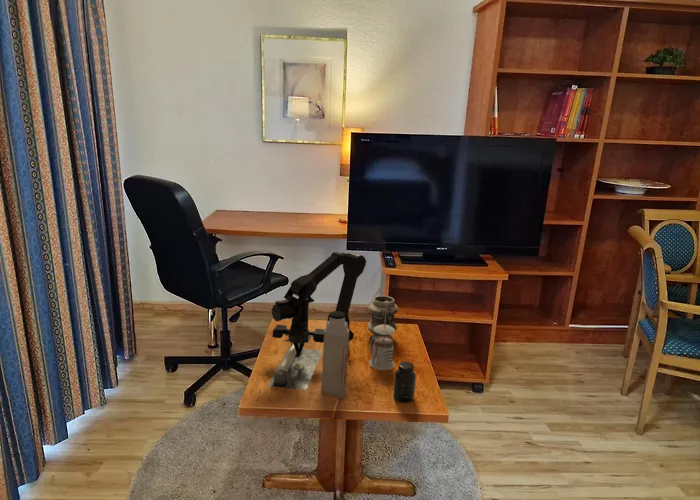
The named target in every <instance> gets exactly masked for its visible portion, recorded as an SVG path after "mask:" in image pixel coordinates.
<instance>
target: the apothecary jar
mask: <svg viewBox="0 0 700 500" xmlns="http://www.w3.org/2000/svg"><path fill="white" fill-rule="evenodd" d="M385 301H388V302H389V305H387V308H386V305H385V304H384V302H385ZM398 308H399V307H398V305H397V304H396V303H395V299H394V298H393V297H391V296H388V295H376V296H375V297H373V301H371V303H369V305H368V309H369V311H370V312H371V315H370V316H371V317H370V321H369V322H368V323H367V329H368V331H369V332H370V333H372V334H371V335H369V340H370V341H371V340H372V338H373V337H374V336H376V337H377V336H387V337H390V338H392V339H393V336H391V335H380V334H377V333H375V332H374V330H373V329H374V327H376V326H378V325H389V326H391V327H393V328H394V329H395V332H396V331H397V329H398V326H397V324H396V322H395V314H396V313H397V312H398V311H399V309H398ZM385 313H386V320H385ZM374 338H375V337H374ZM374 338H373V340H372V342H371V343H373V342H374ZM393 340H394V339H393Z"/></svg>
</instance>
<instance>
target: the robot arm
mask: <svg viewBox="0 0 700 500" xmlns="http://www.w3.org/2000/svg"><path fill="white" fill-rule="evenodd" d="M341 265H342V269H343V274H344V277H343V280H342V283H341V284H342V285H341V287H340V291H339V296H338V299H337V303H336V308H335V310H334V311H340V312H343V313H345V322H347V326H348V329H349V343H348V350H349V349H350V342H351V340H352V341H353V339H354V336H355V333H354V332H353V331H351V330H350V324H351V323H350V322H351V321H350V317H349V313H350V312H349V311H350V308H351V303H352V299H353V295H354V292H355V288H356V284H357V281H358V278H359V277H360V276H361V275H362V274H363V273H364V270H365V267H366V266H367V259H366V257H365V256H364V255H362V254H358V253H355V252H352V251H349V252H347V253H346V252H340V251H334V252H331V254H330V256H328V257H327V258H326V259H325V260H323V261H322V262H321V263H320V264H319V265H318V266H317V267H315V268H314V269H313V270H311V271H310V272H309V273H308V274H303V275H301V276H299V277H298V278H296V279H294V280H293V281H292V282H291V283H290V286H289V287H288V289H287V292H286V293H285V294H284V296H283V299H282V300H276V301H275V302H274V303H275V304H273V305H272V308H271V317H272V319H274V320H273V321H275V322H280V321H285V320H289V319H291V323H290V327H289V328H288V325H285V324H276V325H275V326H274V328H273V329H272V333H271V334H272V338H276V339H281V338H283V336H284V335H285V334H287V335H288V336H287V337H288V339H287V340H288V342H289V343H290V344H291V343H293V344H294V346H295V349H296V352H297V355H298V356H300V354H301V352H302V349H304V345H305V344H308V343H309V342H310V340H311V338H312V341H313V342H315V343H321V344H322V343H323V344H324V329H325V328H315V330H314V331H311V330H309V314H310V313H309V309H310V304H311V303H314V302H315V300H314V298H313V297H312V296H313V294H314V293H315V292H316V291H317V287H318V285H320V283H321V282H322V281H324V280H325V279H326V278H327V277H328V276H330V275H331V274H332V273H333V272H334V271H335V270H337V268H339V267H340V266H341ZM328 321H330V313H329V314H328V316H327V320H326V323H325V325H326V324H327V322H328Z"/></svg>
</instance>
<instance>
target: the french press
mask: <svg viewBox="0 0 700 500" xmlns="http://www.w3.org/2000/svg"><path fill="white" fill-rule="evenodd" d="M384 304H385V305H386V308H387V305H389V302H388V301H385V302H384ZM385 320H386V313H385ZM373 330H374V332H375V333H377V334H380V335H390V336H391V335H393V334H395V333H396V331H395V329H394V328H393V327H391V326H389V325H378V326H376V327H374V329H373ZM374 337H375V338H374ZM374 337H373V338H374V342H372V340H373V338H372V340H370V343H369V351H370V353H371V359H370V360H369V361H368V365H369V366H370V367H371V368H373V369H375V370H377V371H378V370H380V371H388V370H392V369H393V368H395V365H396V364H395V362H394V361H393V359H394V358H393V357H394V347H395V346H394V345H395V344H394V339H392V338H393V337H392V338H390V337H387V336H377V337H376V336H374ZM371 345H372V347H371ZM371 349H372V350H371Z"/></svg>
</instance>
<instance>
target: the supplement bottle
mask: <svg viewBox="0 0 700 500" xmlns="http://www.w3.org/2000/svg"><path fill="white" fill-rule="evenodd" d="M397 368H398V369H396V371H395V372H394V382H393V383H394V384H393V395H392V396H393V398H394V399H395V401H398V402H400V403H404V404H406V403H410V402H412V401H413V400H414V399H415V391H416V381H417V375H416V373H415V371H414V370H415V369H414V363H412V362H411V361H406V360H405V361H400V362H399V364H398V367H397Z"/></svg>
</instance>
